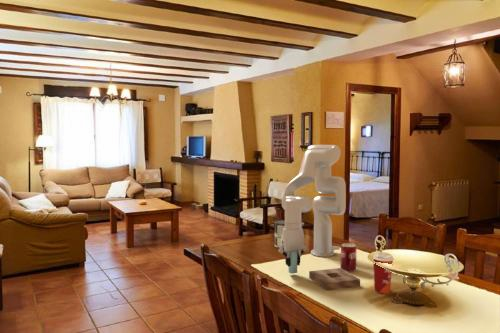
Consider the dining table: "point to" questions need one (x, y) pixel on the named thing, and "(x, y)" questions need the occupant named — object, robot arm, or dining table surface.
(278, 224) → the coffee can
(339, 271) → the socket board
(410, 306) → the dining table surface
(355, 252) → the soda can
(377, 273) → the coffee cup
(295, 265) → the peg
